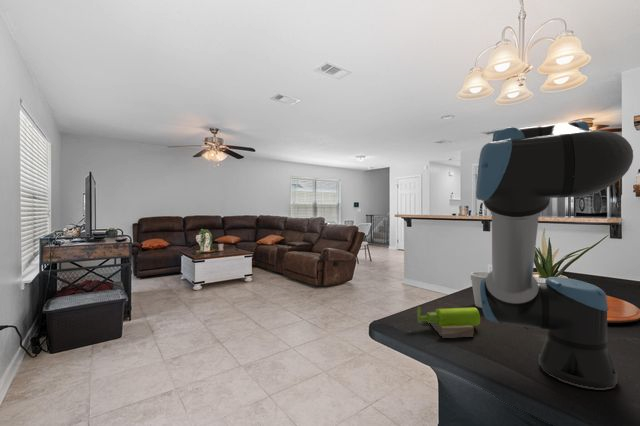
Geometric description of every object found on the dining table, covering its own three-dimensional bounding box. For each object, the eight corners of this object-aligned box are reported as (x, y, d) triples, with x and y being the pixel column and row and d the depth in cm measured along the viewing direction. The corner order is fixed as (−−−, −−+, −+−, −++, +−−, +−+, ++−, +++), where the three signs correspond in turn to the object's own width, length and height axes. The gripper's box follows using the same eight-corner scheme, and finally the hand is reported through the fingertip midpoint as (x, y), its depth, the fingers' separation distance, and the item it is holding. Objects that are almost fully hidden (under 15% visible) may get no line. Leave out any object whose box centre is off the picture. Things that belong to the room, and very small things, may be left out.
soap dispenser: (479, 306, 103) (420, 309, 102) (480, 327, 102) (421, 330, 102) (471, 302, 109) (414, 304, 108) (472, 322, 108) (415, 324, 108)
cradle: (473, 337, 98) (473, 326, 98) (442, 339, 98) (442, 328, 98) (454, 320, 112) (454, 310, 112) (427, 321, 112) (426, 312, 112)
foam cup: (465, 304, 128) (465, 273, 127) (481, 300, 131) (480, 270, 131) (486, 311, 119) (486, 278, 118) (502, 307, 123) (501, 275, 122)
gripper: (517, 177, 105) (518, 245, 106) (480, 178, 104) (481, 247, 105) (533, 175, 98) (534, 248, 99) (494, 176, 97) (495, 250, 98)
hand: (507, 247), depth 102 cm, fingers closed
